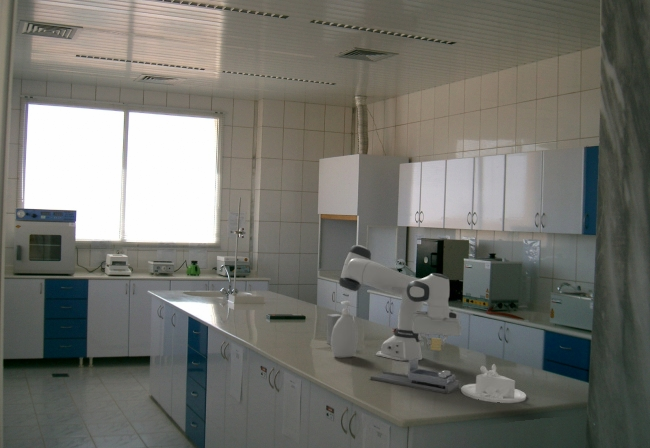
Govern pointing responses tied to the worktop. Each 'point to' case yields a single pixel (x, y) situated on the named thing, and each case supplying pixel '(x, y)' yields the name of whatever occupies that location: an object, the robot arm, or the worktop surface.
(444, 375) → the steel puck
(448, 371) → the steel puck
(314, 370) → the worktop surface
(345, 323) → the soap bottle
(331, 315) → the skincare box
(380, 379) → the track
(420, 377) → the long grey tray
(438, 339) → the wooden block
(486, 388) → the dish
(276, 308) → the worktop surface
